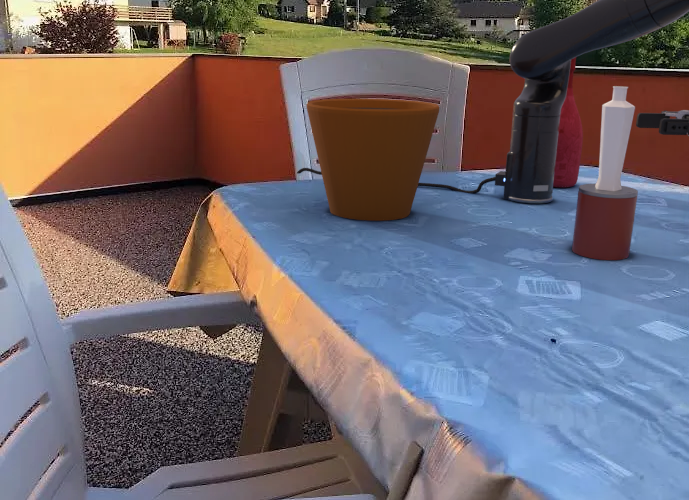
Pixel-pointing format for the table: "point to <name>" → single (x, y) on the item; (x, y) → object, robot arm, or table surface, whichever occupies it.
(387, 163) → the flower pot
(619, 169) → the perfume bottle
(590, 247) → the tin can
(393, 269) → the table surface
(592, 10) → the robot arm
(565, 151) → the wine bottle
